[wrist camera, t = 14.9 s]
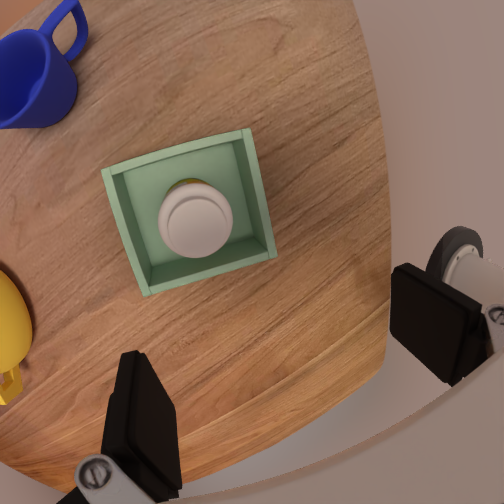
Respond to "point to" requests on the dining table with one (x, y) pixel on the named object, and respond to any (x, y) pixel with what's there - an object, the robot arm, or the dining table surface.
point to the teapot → (12, 338)
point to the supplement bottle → (194, 218)
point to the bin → (153, 192)
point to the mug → (39, 72)
